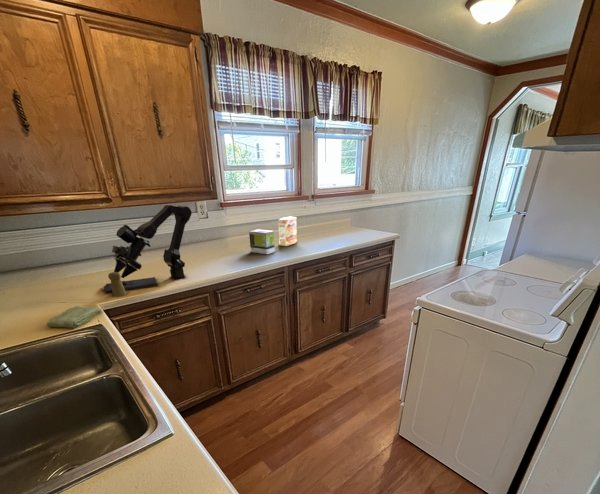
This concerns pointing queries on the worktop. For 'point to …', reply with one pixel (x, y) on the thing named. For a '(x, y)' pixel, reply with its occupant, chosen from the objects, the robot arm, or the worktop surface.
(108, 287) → the socket pad
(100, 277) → the worktop surface
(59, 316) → the washcloth
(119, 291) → the cork
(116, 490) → the worktop surface
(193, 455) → the worktop surface
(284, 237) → the coffeecake box
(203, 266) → the worktop surface
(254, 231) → the tea box
